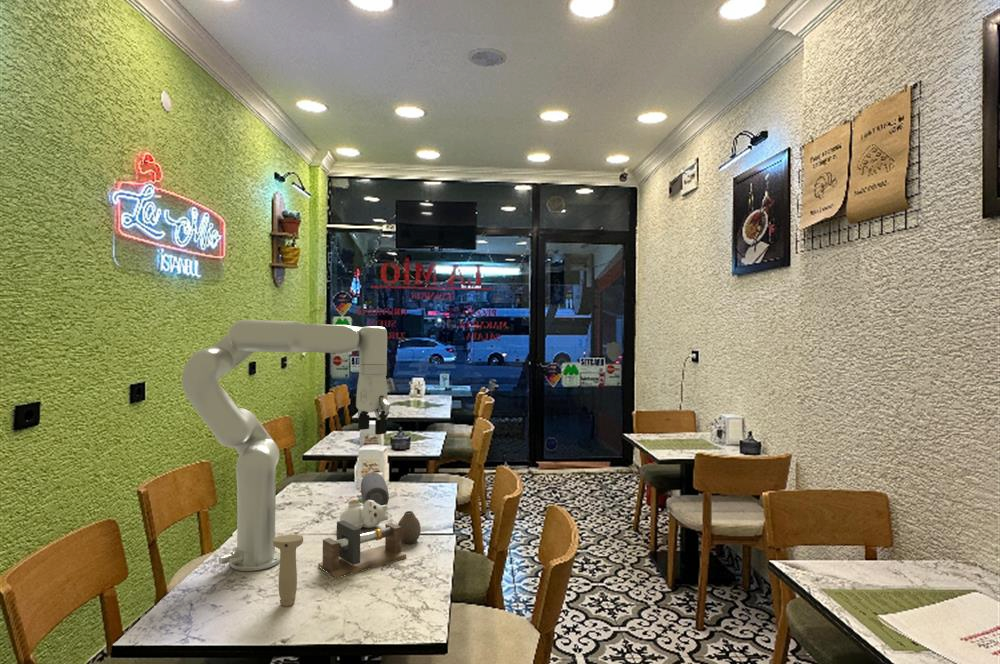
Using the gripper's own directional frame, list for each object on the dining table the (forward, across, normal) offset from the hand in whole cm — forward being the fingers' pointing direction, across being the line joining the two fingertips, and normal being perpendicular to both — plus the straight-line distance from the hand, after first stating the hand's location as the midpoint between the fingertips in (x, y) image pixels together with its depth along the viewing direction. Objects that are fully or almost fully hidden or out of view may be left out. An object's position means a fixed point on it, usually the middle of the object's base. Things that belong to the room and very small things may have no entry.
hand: (372, 431), depth 169 cm
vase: (+34, -2, +14) cm, 37 cm away
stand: (+34, +4, -4) cm, 35 cm away
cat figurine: (+35, -21, +9) cm, 42 cm away
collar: (+32, +4, -9) cm, 34 cm away
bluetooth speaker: (+34, -41, +24) cm, 58 cm away
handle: (+34, +16, -30) cm, 48 cm away
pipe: (+29, +4, -5) cm, 30 cm away
